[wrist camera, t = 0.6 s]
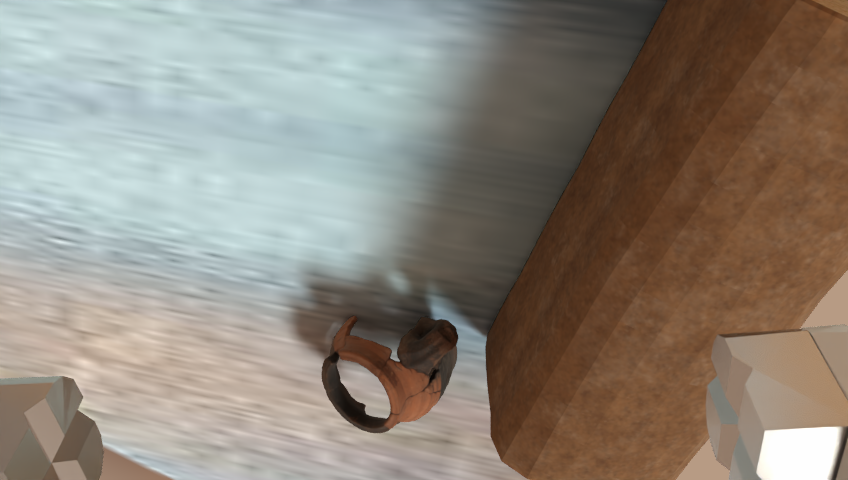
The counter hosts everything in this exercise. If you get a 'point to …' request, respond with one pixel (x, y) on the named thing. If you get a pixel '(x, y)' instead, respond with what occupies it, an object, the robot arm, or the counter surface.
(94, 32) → the counter surface
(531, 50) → the counter surface
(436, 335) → the pottery mug
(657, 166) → the bread
